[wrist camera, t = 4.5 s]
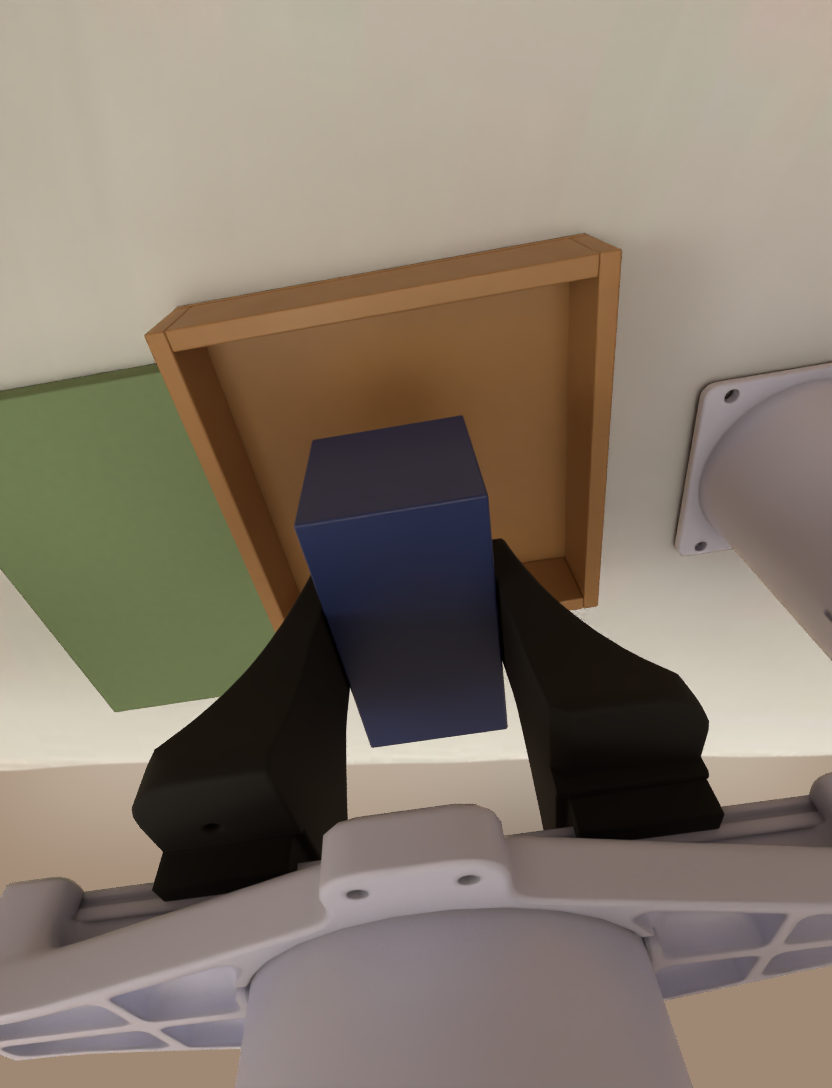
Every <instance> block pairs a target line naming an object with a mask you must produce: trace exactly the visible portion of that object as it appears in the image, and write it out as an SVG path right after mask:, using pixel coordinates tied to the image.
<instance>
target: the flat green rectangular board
mask: <svg viewBox="0 0 832 1088" xmlns="http://www.w3.org/2000/svg"><path fill="white" fill-rule="evenodd" d="M0 569H1V570H2V571H3V573H4V574H5V575H6V576H7V578H8V579H9V580H10V581H11V583H12V584H13V585H14V586H15V588H16V589H17V590H18V591H19V593H20V594H21V595H22V596H23V598H24V599H25V600H26V601H27V603H28V604H29V605H30V607H31V608H32V609H33V610H34V612H35V613H36V614H37V615H38V617H39V618H40V619H41V620H42V622H43V623H44V624H45V625H46V627H47V628H48V629H49V630H50V632H51V633H52V634H53V635H54V637H55V638H56V639H57V640H58V642H59V643H60V644H61V645H62V647H63V648H64V649H65V650H66V652H67V653H68V654H69V655H70V657H71V658H72V659H73V660H74V662H75V663H76V664H77V665H78V667H79V668H80V669H81V670H82V672H83V673H84V674H85V675H86V677H87V678H88V679H89V681H90V682H91V683H92V684H93V686H94V687H95V688H96V689H97V691H98V692H99V693H100V694H101V696H102V697H103V698H104V699H105V701H106V702H107V703H108V704H109V706H110V707H111V708H112V709H113V711H114V712H120V711H127V710H134V709H140V708H147V707H154V706H160V705H167V704H174V703H180V702H187V701H194V700H200V699H207V698H214V697H220V696H222V695H223V694H224V693H225V692H226V691H227V690H228V689H229V688H230V687H231V686H232V685H233V684H234V683H235V682H236V681H237V680H238V679H239V678H240V677H241V676H242V675H243V673H244V672H245V671H246V670H247V669H248V668H249V667H250V665H251V664H252V663H253V662H254V661H255V660H256V658H257V657H258V656H259V655H260V653H261V652H262V651H263V649H264V648H265V647H266V645H267V644H268V643H269V641H270V640H271V638H272V637H273V636H274V634H275V631H274V629H273V627H272V624H271V622H270V620H269V618H268V615H267V613H266V611H265V608H264V606H263V604H262V602H261V599H260V597H259V595H258V593H257V590H256V588H255V586H254V584H253V581H252V579H251V577H250V574H249V572H248V570H247V568H246V565H245V563H244V561H243V559H242V556H241V554H240V552H239V550H238V547H237V545H236V543H235V540H234V538H233V536H232V534H231V531H230V529H229V527H228V525H227V522H226V520H225V518H224V516H223V513H222V511H221V509H220V507H219V504H218V502H217V500H216V497H215V495H214V493H213V491H212V488H211V486H210V484H209V482H208V479H207V477H206V475H205V473H204V470H203V468H202V466H201V463H200V461H199V459H198V457H197V454H196V452H195V450H194V448H193V445H192V443H191V441H190V439H189V436H188V434H187V432H186V430H185V427H184V425H183V423H182V420H181V418H180V416H179V414H178V411H177V409H176V407H175V405H174V402H173V400H172V398H171V396H170V393H169V391H168V389H167V386H166V384H165V382H164V380H163V377H162V375H161V373H160V371H159V368H158V366H157V364H152V365H146V366H140V367H135V368H129V369H123V370H118V371H112V372H106V373H101V374H95V375H89V376H84V377H78V378H72V379H67V380H61V381H55V382H50V383H44V384H38V385H33V386H27V387H21V388H16V389H10V390H5V391H0Z"/></svg>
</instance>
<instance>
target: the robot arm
mask: <svg viewBox="0 0 832 1088" xmlns="http://www.w3.org/2000/svg"><path fill="white" fill-rule="evenodd" d="M730 390H733V393H732V395H731V396H730V397H729V398H727V399H724V397H725V395H726V394H727V393H728V392H729V391H730ZM699 542H701V543H700V544H699V545H696V544H698V543H699ZM492 545H493V557H494V569H495V581H496V593H497V605H498V617H499V629H500V641H501V653H502V661H503V664H504V667H505V670H506V673H507V676H508V679H509V682H510V685H511V688H512V691H513V694H514V698H515V701H516V705H517V709H518V713H519V718H520V722H521V726H522V731H523V735H524V740H525V744H526V749H527V754H528V758H529V763H530V767H531V771H532V776H533V781H534V786H535V791H536V796H537V800H538V805H539V810H540V815H541V820H542V825H543V829H544V830H543V831H536V832H528V833H521V834H514V835H503V829H502V824H501V821H500V820H499V818H498V817H497V816H496V814H495V813H494V812H493V811H491V810H490V809H487V808H484V807H481V806H478V805H475V804H450V805H442V806H435V807H428V808H421V809H413V810H406V811H398V812H391V813H384V814H377V815H370V816H362V817H356V818H352V819H349V820H348V819H347V818H348V817H347V781H346V780H347V778H346V725H347V711H348V702H349V692H350V685H349V682H348V680H347V677H346V674H345V671H344V668H343V665H342V662H341V660H340V657H339V654H338V651H337V648H336V645H335V643H334V640H333V637H332V634H331V631H330V628H329V625H328V623H327V620H326V617H325V614H324V611H323V608H322V606H321V603H320V600H319V597H318V594H317V591H316V588H315V586H314V583H313V580H312V577H311V575H310V577H309V579H308V580H307V582H306V584H305V586H304V588H303V590H302V591H301V593H300V595H299V596H298V598H297V600H296V602H295V603H294V605H293V607H292V608H291V610H290V611H289V613H288V615H287V616H286V618H285V619H284V621H283V623H282V624H281V626H280V627H279V628H278V630H277V631H276V633H275V634H274V636H273V637H272V638H271V640H270V641H269V643H268V644H267V645H266V647H265V648H264V649H263V651H262V652H261V653H260V655H259V656H258V657H257V658H256V660H255V661H254V662H253V663H252V664H251V665H250V667H249V668H248V669H247V670H246V671H245V672H244V673H243V675H242V676H241V677H240V678H239V679H238V680H237V681H236V682H235V683H234V684H233V685H232V686H231V687H230V688H229V689H228V690H227V691H226V692H225V693H224V694H223V695H222V696H221V697H220V698H219V699H218V700H216V701H215V702H214V703H213V704H212V705H211V706H210V707H209V708H208V709H206V710H205V711H204V712H203V713H202V714H201V715H199V716H198V717H197V718H196V719H195V720H193V721H192V722H191V723H190V724H188V725H187V726H186V727H185V728H183V729H182V730H181V731H179V732H178V733H177V734H175V735H174V736H173V737H171V738H170V739H169V740H167V741H166V742H165V743H163V744H162V745H160V746H159V747H158V748H156V749H155V750H154V752H153V755H152V757H151V759H150V761H149V763H148V765H147V768H146V770H145V773H144V776H143V779H142V781H141V784H140V787H139V790H138V792H137V795H136V798H135V801H134V804H133V806H132V814H133V818H134V819H135V821H136V822H137V824H138V825H139V827H140V828H141V829H142V830H143V831H144V832H145V833H146V834H147V835H148V836H149V837H150V838H151V840H152V841H153V842H154V843H155V844H156V845H157V846H158V847H159V848H160V849H161V850H162V851H163V854H162V858H161V861H160V864H159V868H158V871H157V875H156V878H155V881H154V883H146V884H139V885H131V886H124V887H116V888H109V889H101V890H94V891H87V892H84V891H83V890H82V888H81V887H80V886H79V885H78V884H77V883H76V882H74V881H72V880H70V879H67V878H62V877H51V878H43V879H36V880H29V881H21V882H14V883H10V884H9V885H7V886H6V888H5V890H4V892H3V894H2V896H1V898H0V1055H2V1056H5V1057H8V1058H10V1059H13V1060H17V1061H18V1060H27V1059H37V1058H47V1057H56V1056H68V1055H81V1054H94V1053H95V1054H96V1053H115V1052H137V1051H138V1052H139V1051H140V1052H141V1051H176V1050H208V1049H209V1050H212V1049H241V1052H240V1059H239V1066H238V1073H237V1079H236V1086H235V1088H693V1086H692V1083H691V1080H690V1077H689V1074H688V1072H687V1069H686V1066H685V1062H684V1060H683V1057H682V1054H681V1051H680V1048H679V1045H678V1042H677V1039H676V1036H675V1033H674V1030H673V1027H672V1024H671V1021H670V1018H669V1015H668V1012H667V1009H666V1006H665V1003H664V1001H666V1000H670V999H675V998H680V997H685V996H690V995H694V994H699V993H703V992H708V991H713V990H718V989H722V988H727V987H731V986H737V985H741V984H746V983H750V982H755V981H760V980H764V979H769V978H774V977H778V976H783V975H788V974H792V973H797V972H802V971H807V970H812V969H817V968H822V967H827V966H832V772H831V773H827V774H825V775H823V776H821V777H819V778H818V779H817V780H815V781H814V783H813V785H812V787H811V790H810V794H809V795H805V796H798V797H791V798H783V799H776V800H768V801H760V802H753V803H745V804H738V805H731V806H723V807H721V806H720V804H719V802H718V800H717V798H716V796H715V794H714V792H713V791H712V788H711V787H710V785H709V783H708V781H707V778H708V777H709V773H708V769H707V767H706V766H705V764H704V762H703V760H702V758H701V754H702V751H703V747H704V744H705V740H706V737H707V734H708V729H709V720H708V718H707V716H706V714H705V712H704V710H703V708H702V706H701V704H700V703H699V701H698V700H697V698H696V697H695V695H694V694H693V693H692V691H691V690H690V689H689V688H688V686H687V685H686V684H685V682H684V681H683V680H682V679H681V677H680V676H679V675H678V674H676V673H674V672H672V671H670V670H668V669H665V668H663V667H661V666H659V665H656V664H654V663H652V662H650V661H647V660H645V659H643V658H641V657H639V656H637V655H635V654H634V653H632V652H630V651H628V650H626V649H624V648H622V647H621V646H619V645H617V644H616V643H614V642H613V641H611V640H609V639H608V638H606V637H605V636H603V635H601V634H600V633H598V632H597V631H595V630H594V629H593V628H591V627H590V626H588V625H587V624H586V623H584V622H583V621H582V620H580V619H579V618H578V617H576V616H575V615H574V614H573V613H571V612H570V611H569V610H568V609H567V608H565V607H564V606H563V605H562V604H561V603H560V602H559V601H558V600H556V599H555V598H554V597H553V596H552V595H551V594H550V593H549V592H548V591H547V590H546V589H545V588H544V587H543V586H542V585H541V584H540V583H539V582H538V581H537V580H536V579H535V578H534V576H533V575H532V574H531V573H530V572H529V571H528V570H527V569H526V568H525V566H524V565H523V564H522V563H521V562H520V560H519V559H518V558H517V557H516V555H515V554H514V553H513V551H512V550H511V549H510V547H509V546H508V544H507V543H506V541H505V540H503V539H502V538H499V539H493V540H492ZM675 549H676V551H677V552H678V553H679V554H680V555H681V556H692V555H698V554H705V553H711V552H717V551H724V550H730V549H734V550H735V551H736V553H737V554H738V555H739V556H740V557H741V558H742V559H743V561H744V562H745V563H746V564H747V565H748V566H749V567H750V568H751V570H752V571H753V572H754V573H755V574H756V575H757V576H758V578H759V579H760V580H761V581H762V582H763V583H764V584H765V586H766V587H767V588H768V589H769V590H770V591H771V592H772V593H773V595H774V596H775V597H776V598H777V599H778V600H779V601H780V603H781V604H782V605H783V606H784V607H785V608H786V609H787V611H788V612H789V613H790V614H791V615H792V616H793V617H794V618H795V620H796V621H797V622H798V623H799V624H800V625H801V626H802V628H803V629H804V630H805V631H806V632H807V633H808V634H809V636H810V637H811V638H812V639H813V640H814V641H815V642H816V644H817V645H818V646H819V647H820V648H821V649H822V650H823V651H824V653H825V654H826V655H827V656H828V657H829V658H830V659H831V661H832V363H827V364H821V365H815V366H809V367H803V368H797V369H791V370H785V371H779V372H773V373H767V374H761V375H755V376H749V377H743V378H737V379H731V380H725V381H719V382H715V383H712V384H710V385H708V386H707V387H705V389H704V390H703V391H702V393H701V395H700V399H699V405H698V411H697V417H696V422H695V428H694V434H693V440H692V446H691V452H690V458H689V464H688V470H687V475H686V481H685V487H684V493H683V499H682V505H681V511H680V517H679V523H678V528H677V534H676V540H675Z"/></svg>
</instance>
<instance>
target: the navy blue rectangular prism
mask: <svg viewBox="0 0 832 1088" xmlns="http://www.w3.org/2000/svg"><path fill="white" fill-rule="evenodd" d="M294 529H295V532H296V534H297V537H298V540H299V543H300V546H301V549H302V552H303V554H304V557H305V560H306V563H307V566H308V569H309V571H310V574H311V577H312V580H313V583H314V586H315V588H316V591H317V594H318V597H319V600H320V603H321V606H322V608H323V611H324V614H325V617H326V620H327V623H328V625H329V628H330V631H331V634H332V637H333V640H334V643H335V645H336V648H337V651H338V654H339V657H340V660H341V662H342V665H343V668H344V671H345V674H346V677H347V680H348V682H349V685H350V688H351V691H352V694H353V697H354V699H355V702H356V705H357V708H358V711H359V714H360V717H361V719H362V722H363V725H364V728H365V731H366V734H367V736H368V739H369V742H370V745H371V747H372V748H374V747H381V746H388V745H396V744H403V743H410V742H417V741H424V740H431V739H438V738H445V737H452V736H459V735H467V734H474V733H481V732H488V731H495V730H502V729H507V727H508V725H507V713H506V701H505V689H504V677H503V665H502V653H501V641H500V629H499V617H498V605H497V593H496V581H495V569H494V557H493V545H492V533H491V521H490V509H489V497H488V493H487V490H486V487H485V483H484V480H483V477H482V474H481V471H480V468H479V464H478V461H477V458H476V455H475V452H474V449H473V445H472V442H471V439H470V436H469V433H468V430H467V426H466V423H465V420H464V417H463V416H462V415H460V416H454V417H448V418H442V419H436V420H430V421H424V422H418V423H412V424H406V425H400V426H394V427H388V428H382V429H376V430H370V431H364V432H358V433H352V434H346V435H340V436H334V437H328V438H322V439H316V440H313V441H312V444H311V449H310V453H309V458H308V463H307V467H306V472H305V477H304V481H303V486H302V491H301V495H300V500H299V505H298V509H297V514H296V519H295V523H294Z"/></svg>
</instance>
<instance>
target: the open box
mask: <svg viewBox="0 0 832 1088" xmlns="http://www.w3.org/2000/svg"><path fill="white" fill-rule="evenodd" d="M621 259H622V250H621V249H619V248H617V247H615V246H612V245H610V244H608V243H605V242H603V241H601V240H599V239H596V238H594V237H592V236H590V235H588V234H585V233H583V234H577V235H572V236H566V237H561V238H555V239H550V240H544V241H538V242H533V243H527V244H522V245H516V246H511V247H505V248H500V249H494V250H489V251H483V252H478V253H472V254H467V255H461V256H455V257H450V258H444V259H439V260H433V261H428V262H422V263H417V264H411V265H406V266H400V267H395V268H389V269H384V270H378V271H372V272H367V273H361V274H356V275H350V276H345V277H339V278H334V279H328V280H323V281H317V282H312V283H306V284H301V285H295V286H289V287H284V288H278V289H273V290H267V291H262V292H256V293H251V294H245V295H240V296H234V297H229V298H223V299H218V300H212V301H206V302H201V303H195V304H190V305H184V306H179V307H177V308H175V309H174V311H172V312H171V313H170V314H169V315H168V316H166V317H165V318H164V319H163V320H162V321H161V322H159V323H158V324H157V325H156V326H155V327H153V328H152V329H151V330H150V331H149V332H147V333H146V334H145V339H146V341H147V343H148V346H149V348H150V350H151V353H152V355H153V357H154V359H155V362H156V364H157V366H158V368H159V371H160V373H161V375H162V377H163V380H164V382H165V384H166V386H167V389H168V391H169V393H170V396H171V398H172V400H173V402H174V405H175V407H176V409H177V411H178V414H179V416H180V418H181V420H182V423H183V425H184V427H185V430H186V432H187V434H188V436H189V439H190V441H191V443H192V445H193V448H194V450H195V452H196V454H197V457H198V459H199V461H200V463H201V466H202V468H203V470H204V473H205V475H206V477H207V479H208V482H209V484H210V486H211V488H212V491H213V493H214V495H215V497H216V500H217V502H218V504H219V507H220V509H221V511H222V513H223V516H224V518H225V520H226V522H227V525H228V527H229V529H230V531H231V534H232V536H233V538H234V540H235V543H236V545H237V547H238V550H239V552H240V554H241V556H242V559H243V561H244V563H245V565H246V568H247V570H248V572H249V574H250V577H251V579H252V581H253V584H254V586H255V588H256V590H257V593H258V595H259V597H260V599H261V602H262V604H263V606H264V608H265V611H266V613H267V615H268V618H269V620H270V622H271V624H272V627H273V629H274V631H275V633H276V631H277V630H278V628H279V627H280V626H281V624H282V623H283V621H284V619H285V618H286V616H287V615H288V613H289V611H290V610H291V608H292V607H293V605H294V603H295V602H296V600H297V598H298V596H299V595H300V593H301V591H302V590H303V588H304V586H305V584H306V582H307V580H308V579H309V577H310V575H311V574H310V571H309V569H308V566H307V563H306V560H305V557H304V554H303V552H302V549H301V546H300V543H299V540H298V537H297V534H296V532H295V529H294V523H295V519H296V514H297V509H298V505H299V500H300V495H301V491H302V486H303V481H304V477H305V472H306V467H307V463H308V458H309V453H310V449H311V444H312V441H313V440H316V439H322V438H328V437H334V436H340V435H346V434H352V433H358V432H364V431H370V430H376V429H382V428H388V427H394V426H400V425H406V424H412V423H418V422H424V421H430V420H436V419H442V418H448V417H454V416H460V415H462V416H463V417H464V420H465V423H466V426H467V430H468V433H469V436H470V439H471V442H472V445H473V449H474V452H475V455H476V458H477V461H478V464H479V468H480V471H481V474H482V477H483V480H484V483H485V487H486V490H487V493H488V497H489V509H490V521H491V533H492V540H493V539H499V538H502V539H503V540H505V541H506V543H507V544H508V546H509V547H510V549H511V550H512V551H513V553H514V554H515V555H516V557H517V558H518V559H519V560H520V562H521V563H522V564H523V565H524V566H525V568H526V569H527V570H528V571H529V572H530V573H531V574H532V575H533V576H534V578H535V579H536V580H537V581H538V582H539V583H540V584H541V585H542V586H543V587H544V588H545V589H546V590H547V591H548V592H549V593H550V594H551V595H552V596H553V597H554V598H555V599H556V600H558V601H559V602H560V603H561V604H562V605H563V606H564V607H565V608H567V609H568V610H576V609H582V608H583V607H584V608H590V607H596V606H598V595H599V580H600V566H601V551H602V536H603V522H604V507H605V493H606V478H607V463H608V449H609V434H610V419H611V405H612V390H613V376H614V361H615V346H616V332H617V317H618V302H619V288H620V273H621Z"/></svg>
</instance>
